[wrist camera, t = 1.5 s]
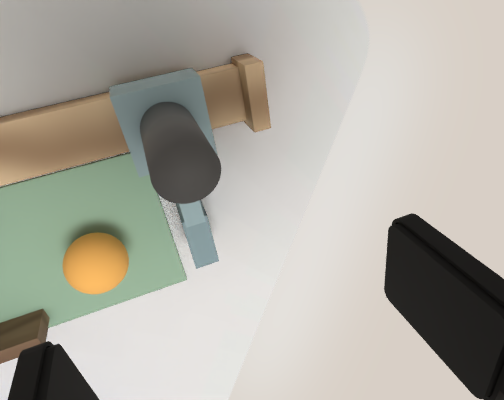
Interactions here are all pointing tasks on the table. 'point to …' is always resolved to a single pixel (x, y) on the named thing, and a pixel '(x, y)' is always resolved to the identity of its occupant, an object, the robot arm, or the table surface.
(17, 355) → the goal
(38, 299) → the felt mat
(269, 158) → the table surface
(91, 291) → the ball
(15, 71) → the table surface
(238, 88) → the rail
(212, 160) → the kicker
